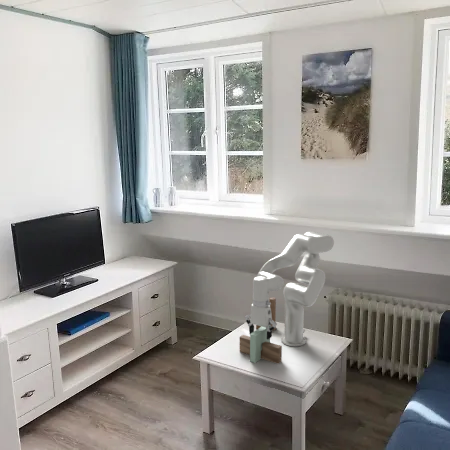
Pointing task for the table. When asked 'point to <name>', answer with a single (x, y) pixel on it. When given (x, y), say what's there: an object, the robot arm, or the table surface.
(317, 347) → the table surface
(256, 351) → the green slotted board
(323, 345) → the table surface
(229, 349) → the table surface
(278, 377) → the table surface
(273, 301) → the wooden block
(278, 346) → the walnut slotted plate
